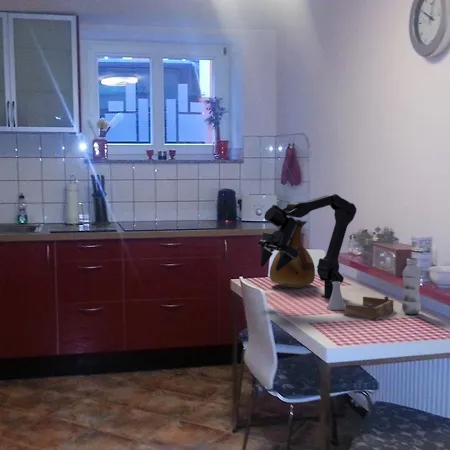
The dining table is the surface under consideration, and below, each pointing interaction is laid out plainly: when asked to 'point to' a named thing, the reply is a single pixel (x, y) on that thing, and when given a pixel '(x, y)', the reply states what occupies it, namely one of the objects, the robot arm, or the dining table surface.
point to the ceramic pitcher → (294, 265)
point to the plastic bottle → (411, 287)
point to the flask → (336, 298)
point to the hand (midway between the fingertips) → (268, 268)
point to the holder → (370, 308)
